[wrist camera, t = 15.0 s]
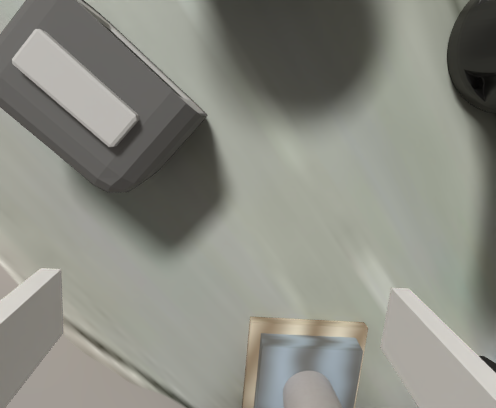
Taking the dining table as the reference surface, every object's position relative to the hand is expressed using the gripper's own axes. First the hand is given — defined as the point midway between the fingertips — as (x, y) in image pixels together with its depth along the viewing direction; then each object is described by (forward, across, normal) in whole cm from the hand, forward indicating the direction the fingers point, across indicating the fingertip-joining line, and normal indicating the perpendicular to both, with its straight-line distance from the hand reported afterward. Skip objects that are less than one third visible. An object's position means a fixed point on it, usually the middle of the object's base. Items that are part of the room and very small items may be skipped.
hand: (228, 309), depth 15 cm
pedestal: (+33, +12, -27) cm, 44 cm away
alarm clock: (+33, -13, +8) cm, 36 cm away
